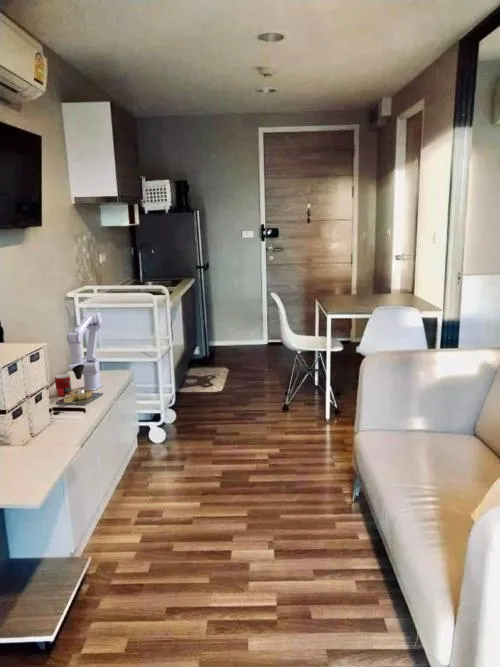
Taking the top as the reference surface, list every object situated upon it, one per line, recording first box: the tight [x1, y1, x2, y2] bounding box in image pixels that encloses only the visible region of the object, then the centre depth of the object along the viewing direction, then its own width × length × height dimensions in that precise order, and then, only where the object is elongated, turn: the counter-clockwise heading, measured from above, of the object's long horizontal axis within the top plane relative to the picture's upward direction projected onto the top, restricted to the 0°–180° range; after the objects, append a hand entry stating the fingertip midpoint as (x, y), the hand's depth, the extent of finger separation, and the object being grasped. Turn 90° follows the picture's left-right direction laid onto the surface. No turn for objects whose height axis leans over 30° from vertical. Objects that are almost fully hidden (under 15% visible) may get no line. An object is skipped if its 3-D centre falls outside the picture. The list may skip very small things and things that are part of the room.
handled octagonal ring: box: [63, 388, 93, 403], centre depth 268 cm, size 17×11×2 cm, turn 159°
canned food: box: [54, 373, 72, 398], centre depth 278 cm, size 8×8×11 cm
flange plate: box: [55, 389, 104, 406], centre depth 270 cm, size 18×17×4 cm
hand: (78, 378), depth 274 cm, fingers closed
